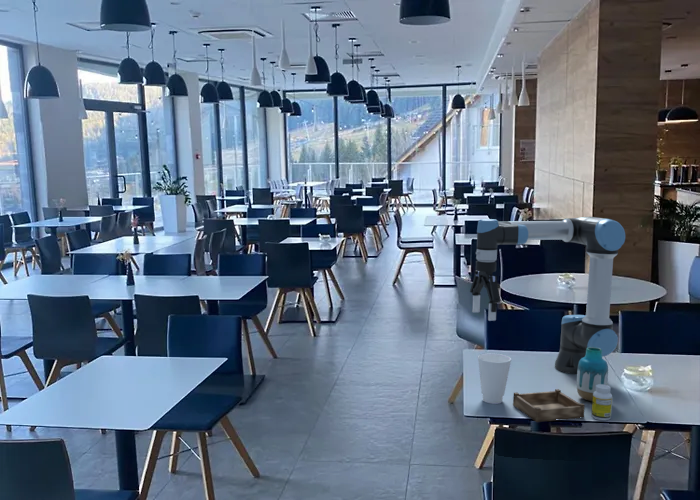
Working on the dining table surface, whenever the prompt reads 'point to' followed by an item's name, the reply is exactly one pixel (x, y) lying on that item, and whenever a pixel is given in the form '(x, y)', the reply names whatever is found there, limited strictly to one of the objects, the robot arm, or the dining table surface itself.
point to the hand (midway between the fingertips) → (483, 316)
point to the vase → (591, 373)
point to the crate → (548, 406)
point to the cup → (493, 376)
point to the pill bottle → (602, 402)
